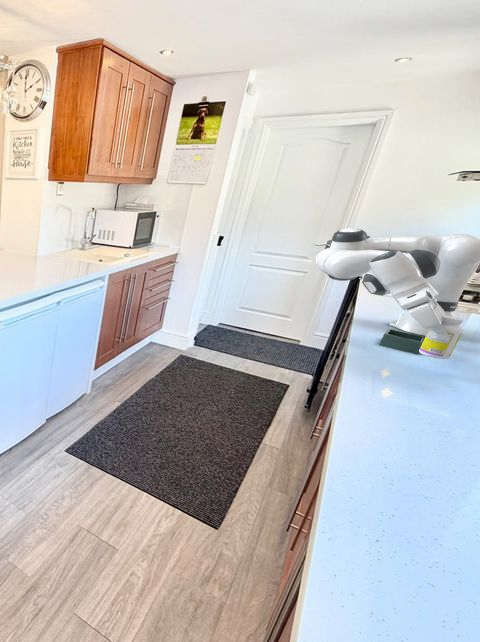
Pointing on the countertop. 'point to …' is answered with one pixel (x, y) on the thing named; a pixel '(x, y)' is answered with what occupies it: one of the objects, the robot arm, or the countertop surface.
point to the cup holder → (402, 341)
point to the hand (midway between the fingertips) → (446, 334)
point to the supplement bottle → (442, 339)
